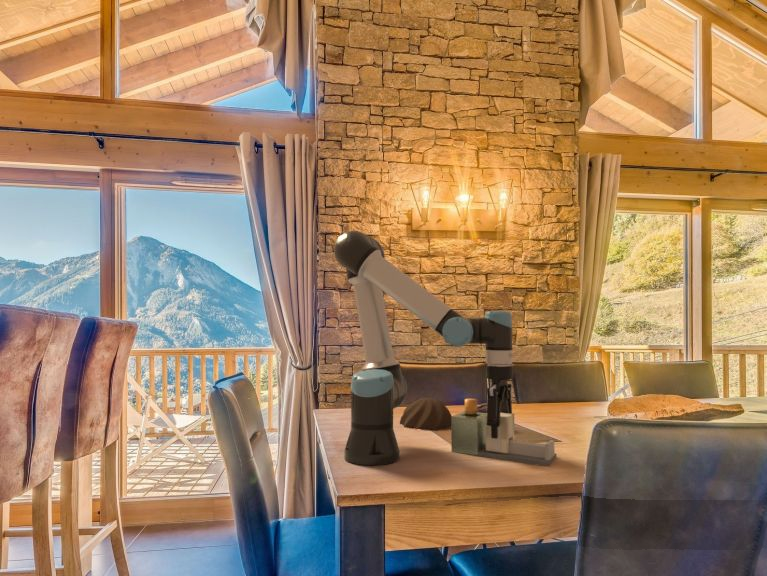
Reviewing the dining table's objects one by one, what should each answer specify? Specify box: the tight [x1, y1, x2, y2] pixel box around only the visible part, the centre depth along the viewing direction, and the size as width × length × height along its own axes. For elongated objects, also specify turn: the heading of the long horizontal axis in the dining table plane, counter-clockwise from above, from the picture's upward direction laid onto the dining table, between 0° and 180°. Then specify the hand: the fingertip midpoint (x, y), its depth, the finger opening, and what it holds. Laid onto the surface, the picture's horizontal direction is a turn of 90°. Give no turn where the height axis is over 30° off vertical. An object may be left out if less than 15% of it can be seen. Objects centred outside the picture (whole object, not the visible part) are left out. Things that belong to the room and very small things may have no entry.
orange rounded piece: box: [464, 398, 478, 415], centre depth 147 cm, size 4×4×4 cm
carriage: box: [486, 412, 516, 453], centre depth 142 cm, size 7×6×10 cm
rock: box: [477, 401, 488, 413], centre depth 174 cm, size 12×9×10 cm
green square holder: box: [450, 410, 487, 456], centre depth 146 cm, size 10×8×10 cm
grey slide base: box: [478, 439, 557, 467], centre depth 139 cm, size 10×19×5 cm, turn 58°
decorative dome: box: [399, 396, 452, 431], centre depth 183 cm, size 19×20×10 cm
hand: (500, 446), depth 141 cm, fingers closed on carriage, 7 cm apart
